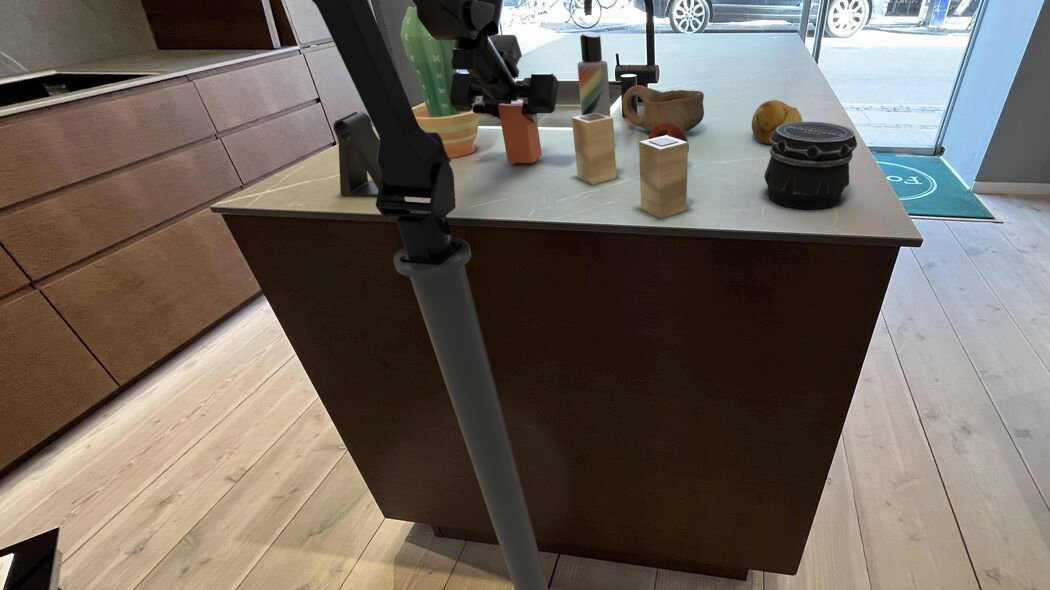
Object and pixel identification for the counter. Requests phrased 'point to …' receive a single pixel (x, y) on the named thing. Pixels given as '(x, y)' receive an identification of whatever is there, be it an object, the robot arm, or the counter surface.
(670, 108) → the bowl
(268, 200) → the counter surface
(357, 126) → the phone stand
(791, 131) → the container
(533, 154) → the terracotta block
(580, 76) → the lotion bottle
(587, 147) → the maple block back
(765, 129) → the bread roll
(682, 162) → the maple block front
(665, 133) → the apple
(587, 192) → the counter surface
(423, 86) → the potted cactus
